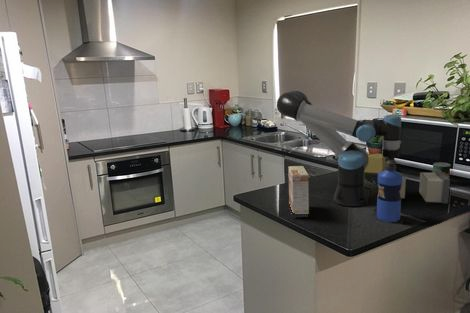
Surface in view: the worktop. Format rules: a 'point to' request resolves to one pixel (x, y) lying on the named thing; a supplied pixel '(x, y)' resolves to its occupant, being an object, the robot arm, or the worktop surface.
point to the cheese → (375, 163)
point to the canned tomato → (442, 168)
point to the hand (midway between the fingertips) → (389, 194)
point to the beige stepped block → (434, 186)
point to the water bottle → (389, 193)
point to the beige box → (403, 187)
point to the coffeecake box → (298, 190)
